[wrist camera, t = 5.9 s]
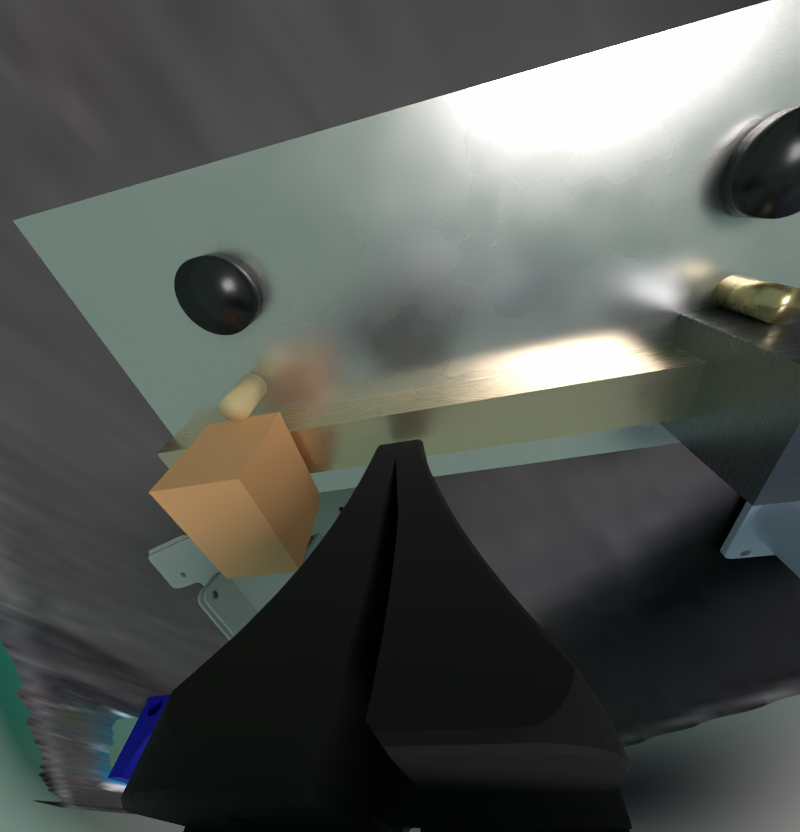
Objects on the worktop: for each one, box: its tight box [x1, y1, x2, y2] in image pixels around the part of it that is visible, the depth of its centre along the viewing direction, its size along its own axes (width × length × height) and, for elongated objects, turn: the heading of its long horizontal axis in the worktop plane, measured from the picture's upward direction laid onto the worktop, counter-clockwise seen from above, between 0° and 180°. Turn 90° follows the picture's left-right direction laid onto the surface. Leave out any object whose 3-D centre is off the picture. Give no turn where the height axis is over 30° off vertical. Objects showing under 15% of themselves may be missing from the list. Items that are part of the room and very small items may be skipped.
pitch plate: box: [13, 0, 800, 506], centre depth 10 cm, size 22×12×6 cm, turn 102°
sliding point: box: [149, 374, 321, 579], centre depth 11 cm, size 2×5×4 cm, turn 12°
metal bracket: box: [149, 487, 356, 641], centre depth 20 cm, size 14×6×15 cm
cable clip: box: [108, 695, 170, 784], centre depth 32 cm, size 12×4×6 cm, turn 107°
